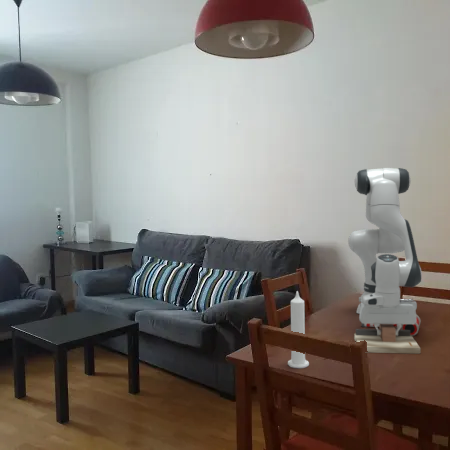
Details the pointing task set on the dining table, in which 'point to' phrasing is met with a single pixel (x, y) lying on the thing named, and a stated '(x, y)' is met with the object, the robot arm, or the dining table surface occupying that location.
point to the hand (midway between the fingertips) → (387, 335)
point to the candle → (297, 330)
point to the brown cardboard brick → (388, 332)
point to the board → (376, 344)
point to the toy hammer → (403, 326)
